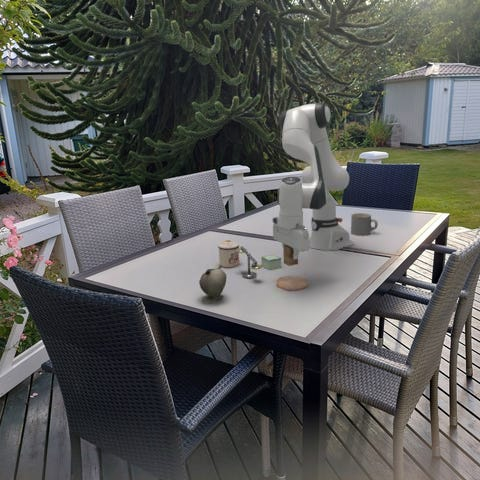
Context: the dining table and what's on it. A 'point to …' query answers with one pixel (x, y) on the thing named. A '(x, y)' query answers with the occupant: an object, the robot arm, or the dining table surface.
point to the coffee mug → (362, 224)
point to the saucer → (291, 283)
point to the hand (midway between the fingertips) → (290, 256)
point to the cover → (271, 261)
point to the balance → (254, 265)
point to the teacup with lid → (228, 253)
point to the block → (289, 256)
